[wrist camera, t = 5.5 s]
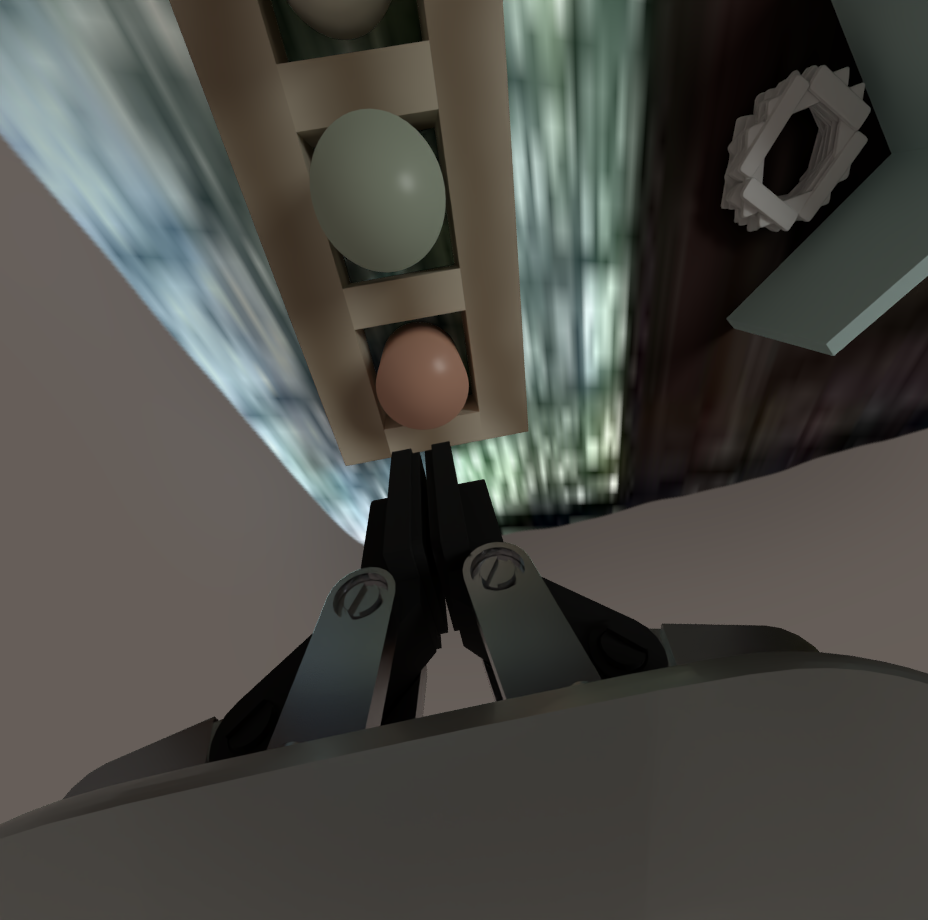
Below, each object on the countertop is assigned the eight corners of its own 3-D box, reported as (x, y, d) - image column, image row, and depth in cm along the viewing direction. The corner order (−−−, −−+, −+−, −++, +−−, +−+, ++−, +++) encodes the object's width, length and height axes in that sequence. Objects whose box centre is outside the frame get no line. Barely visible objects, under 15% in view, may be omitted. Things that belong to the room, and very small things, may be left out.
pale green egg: (426, 134, 16) (432, 97, 12) (444, 256, 19) (454, 261, 15) (319, 152, 16) (287, 120, 12) (352, 272, 19) (335, 282, 14)
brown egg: (451, 315, 22) (461, 332, 18) (463, 389, 25) (474, 420, 20) (373, 329, 22) (364, 350, 18) (392, 402, 24) (389, 437, 20)
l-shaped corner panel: (823, -58, 17) (1079, -241, 10) (902, 154, 22) (1110, 119, 15) (624, 196, 21) (718, 178, 14) (728, 326, 26) (833, 355, 19)
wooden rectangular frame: (465, -265, 13) (479, -391, 10) (516, 412, 26) (528, 431, 24) (117, -219, 12) (41, -338, 10) (352, 443, 26) (346, 466, 23)
